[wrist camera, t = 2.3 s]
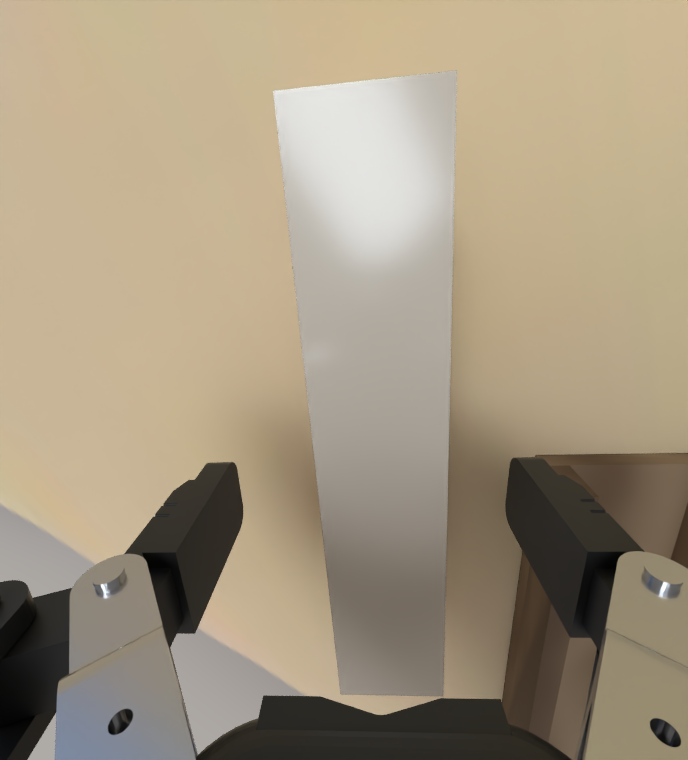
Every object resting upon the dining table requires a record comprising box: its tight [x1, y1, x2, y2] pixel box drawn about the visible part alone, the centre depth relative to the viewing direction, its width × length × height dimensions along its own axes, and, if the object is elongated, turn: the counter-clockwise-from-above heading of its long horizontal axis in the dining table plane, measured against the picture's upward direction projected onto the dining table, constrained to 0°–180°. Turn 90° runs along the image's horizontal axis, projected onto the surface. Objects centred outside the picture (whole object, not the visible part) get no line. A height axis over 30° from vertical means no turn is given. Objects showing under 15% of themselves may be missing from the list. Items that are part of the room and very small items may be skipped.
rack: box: [502, 453, 688, 760], centre depth 21 cm, size 16×24×4 cm, turn 3°
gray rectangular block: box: [273, 70, 457, 696], centre depth 15 cm, size 4×20×8 cm, turn 4°
